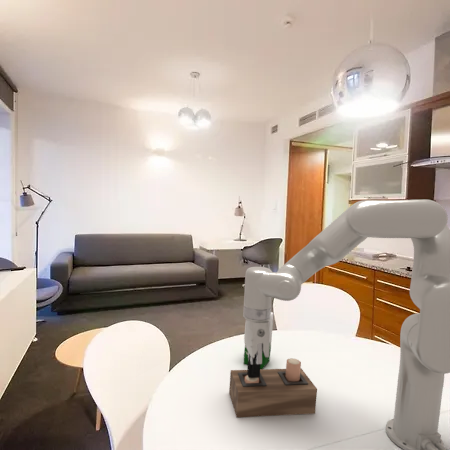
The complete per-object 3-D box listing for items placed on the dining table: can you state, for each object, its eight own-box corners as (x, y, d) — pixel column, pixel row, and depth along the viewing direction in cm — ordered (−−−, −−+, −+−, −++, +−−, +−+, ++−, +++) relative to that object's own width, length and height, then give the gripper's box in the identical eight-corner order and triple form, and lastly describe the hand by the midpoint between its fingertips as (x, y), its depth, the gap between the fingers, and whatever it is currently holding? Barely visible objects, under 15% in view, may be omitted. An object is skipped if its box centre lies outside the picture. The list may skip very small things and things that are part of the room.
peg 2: (301, 389, 93) (303, 364, 93) (287, 389, 92) (289, 365, 92) (295, 381, 97) (297, 357, 96) (282, 381, 96) (284, 358, 96)
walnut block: (315, 413, 91) (317, 387, 90) (236, 417, 87) (238, 390, 86) (299, 390, 101) (301, 367, 101) (229, 392, 98) (230, 368, 97)
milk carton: (272, 361, 119) (276, 306, 117) (263, 371, 111) (267, 313, 109) (250, 354, 123) (253, 301, 121) (239, 364, 115) (243, 308, 114)
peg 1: (258, 406, 91) (260, 381, 91) (244, 407, 91) (246, 382, 90) (255, 397, 95) (256, 373, 95) (241, 398, 95) (243, 374, 94)
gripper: (278, 322, 84) (274, 391, 86) (262, 303, 99) (259, 362, 100) (250, 322, 83) (246, 392, 84) (238, 303, 98) (235, 363, 99)
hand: (253, 376), depth 92 cm, fingers closed
